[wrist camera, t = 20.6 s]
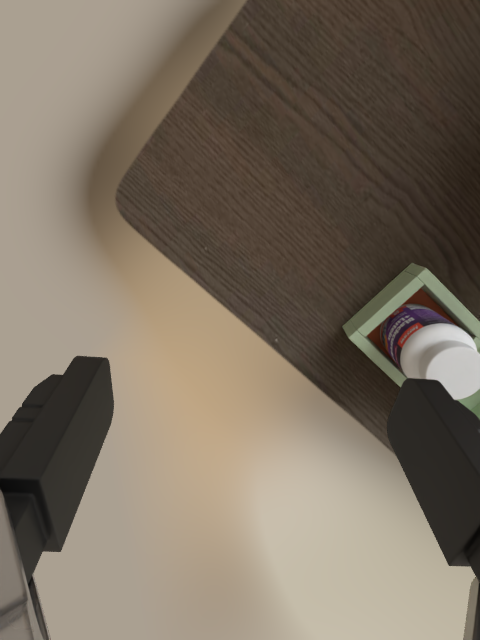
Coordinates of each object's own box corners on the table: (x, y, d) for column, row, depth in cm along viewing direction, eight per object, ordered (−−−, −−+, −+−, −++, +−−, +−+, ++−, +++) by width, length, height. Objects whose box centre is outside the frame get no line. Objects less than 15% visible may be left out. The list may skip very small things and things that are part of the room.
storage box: (451, 430, 37) (468, 451, 33) (341, 326, 35) (348, 337, 32) (525, 377, 34) (551, 394, 31) (411, 262, 32) (426, 267, 29)
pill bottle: (386, 297, 33) (429, 329, 24) (446, 308, 33) (512, 344, 23) (371, 351, 35) (405, 401, 25) (427, 361, 34) (483, 416, 25)
